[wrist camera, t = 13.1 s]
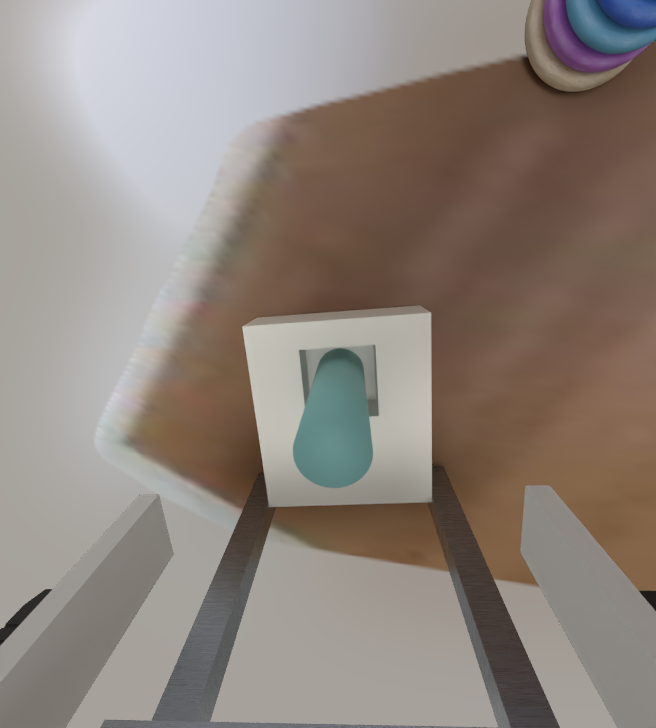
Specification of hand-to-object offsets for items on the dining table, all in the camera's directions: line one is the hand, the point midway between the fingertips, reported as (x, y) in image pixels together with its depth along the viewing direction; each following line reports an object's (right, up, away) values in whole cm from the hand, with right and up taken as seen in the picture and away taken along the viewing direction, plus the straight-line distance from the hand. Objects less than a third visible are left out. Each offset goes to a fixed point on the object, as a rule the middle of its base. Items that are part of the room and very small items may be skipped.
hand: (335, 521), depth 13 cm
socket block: (+1, +3, +20) cm, 20 cm away
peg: (+1, +5, +18) cm, 19 cm away
